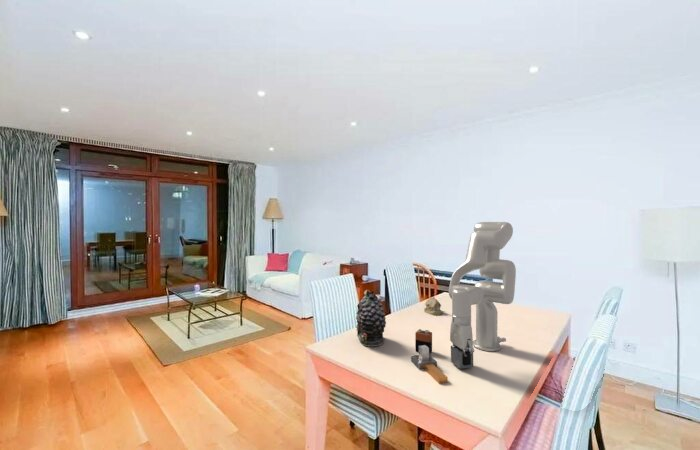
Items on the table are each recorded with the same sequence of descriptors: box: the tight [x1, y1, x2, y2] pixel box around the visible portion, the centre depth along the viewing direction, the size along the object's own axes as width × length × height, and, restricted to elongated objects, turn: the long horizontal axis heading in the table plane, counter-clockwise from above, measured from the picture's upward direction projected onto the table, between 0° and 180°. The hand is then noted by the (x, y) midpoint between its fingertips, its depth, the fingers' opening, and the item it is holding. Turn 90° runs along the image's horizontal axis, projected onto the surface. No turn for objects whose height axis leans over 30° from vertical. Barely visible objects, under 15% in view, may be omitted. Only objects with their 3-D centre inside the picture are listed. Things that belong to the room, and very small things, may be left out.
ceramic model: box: [423, 296, 443, 316], centre depth 211 cm, size 14×11×10 cm
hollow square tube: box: [450, 344, 474, 370], centre depth 134 cm, size 6×6×7 cm
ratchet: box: [410, 345, 449, 385], centre depth 130 cm, size 20×8×8 cm, turn 14°
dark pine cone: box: [355, 289, 387, 347], centre depth 163 cm, size 21×15×25 cm
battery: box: [414, 328, 433, 355], centre depth 149 cm, size 4×7×10 cm, turn 59°
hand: (461, 360), depth 134 cm, fingers closed on hollow square tube, 6 cm apart
